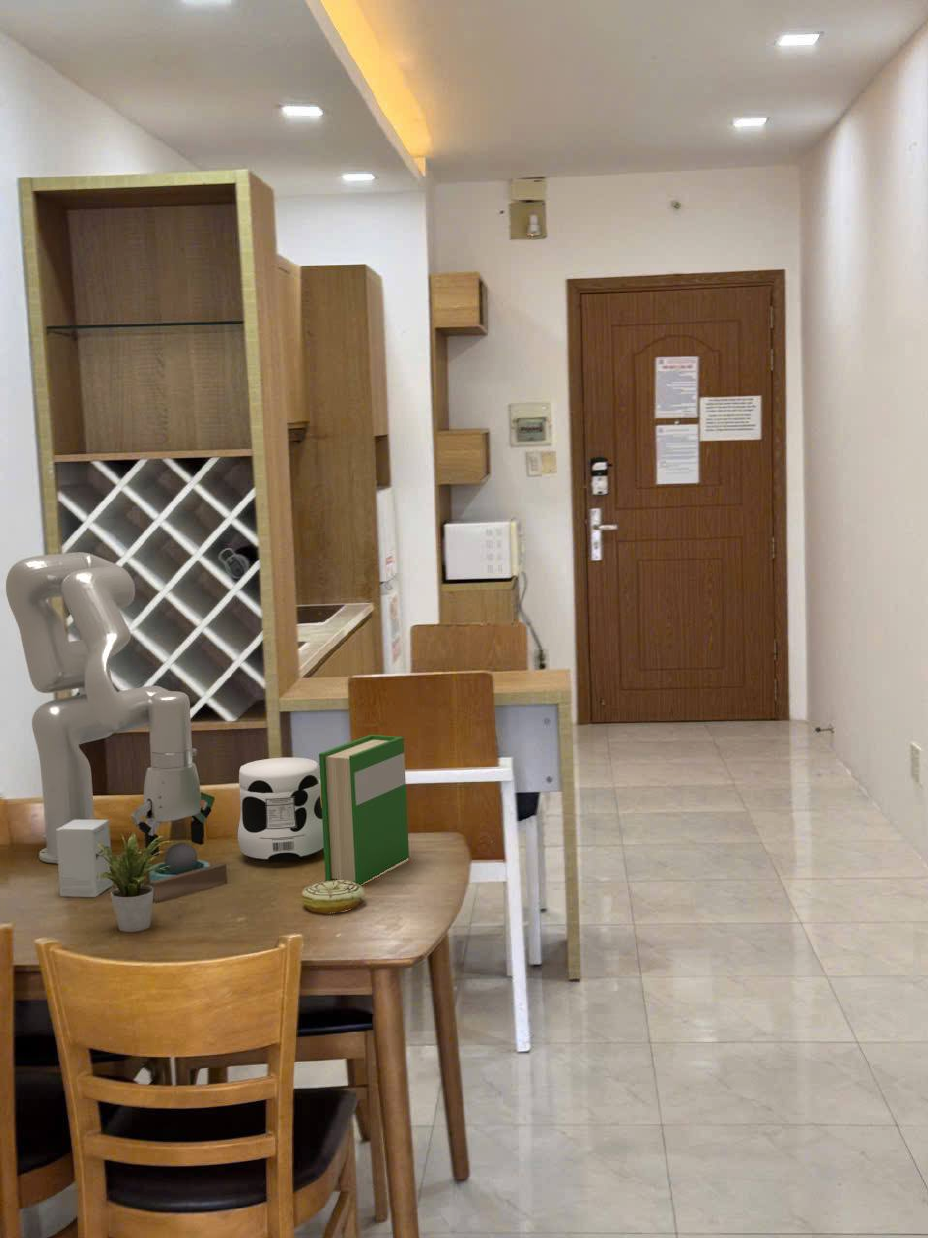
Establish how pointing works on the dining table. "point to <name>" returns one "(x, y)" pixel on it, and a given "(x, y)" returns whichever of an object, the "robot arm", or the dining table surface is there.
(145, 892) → the house plant
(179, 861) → the charcoal ball
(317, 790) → the milk container
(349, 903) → the decorated donut
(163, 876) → the teal dish
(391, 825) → the hardback book
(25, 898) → the dining table surface
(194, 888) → the brown wooden bar
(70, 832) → the supplement box
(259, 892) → the dining table surface
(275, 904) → the dining table surface
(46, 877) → the dining table surface
